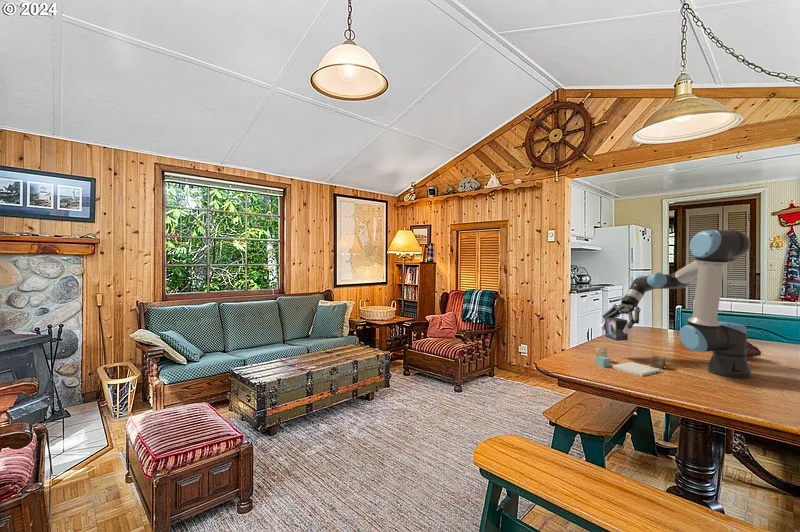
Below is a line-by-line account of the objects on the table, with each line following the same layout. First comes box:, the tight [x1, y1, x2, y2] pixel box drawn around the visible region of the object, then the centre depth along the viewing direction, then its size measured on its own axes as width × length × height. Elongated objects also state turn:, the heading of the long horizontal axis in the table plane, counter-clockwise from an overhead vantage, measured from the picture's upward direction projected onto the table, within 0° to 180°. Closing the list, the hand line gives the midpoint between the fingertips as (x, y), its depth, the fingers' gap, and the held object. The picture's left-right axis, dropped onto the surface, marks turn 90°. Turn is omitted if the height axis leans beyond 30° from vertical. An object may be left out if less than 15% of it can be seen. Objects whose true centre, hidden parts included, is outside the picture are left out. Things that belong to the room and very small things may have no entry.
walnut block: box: [649, 355, 666, 370], centre depth 183 cm, size 5×5×5 cm
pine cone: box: [746, 341, 762, 358], centre depth 197 cm, size 18×10×10 cm, turn 8°
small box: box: [604, 316, 629, 341], centre depth 201 cm, size 11×6×10 cm, turn 2°
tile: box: [611, 361, 662, 377], centre depth 179 cm, size 14×14×1 cm
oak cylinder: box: [595, 347, 608, 358], centre depth 196 cm, size 5×5×6 cm
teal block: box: [595, 356, 611, 368], centre depth 187 cm, size 5×4×4 cm
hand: (613, 330), depth 200 cm, fingers closed on small box, 12 cm apart
